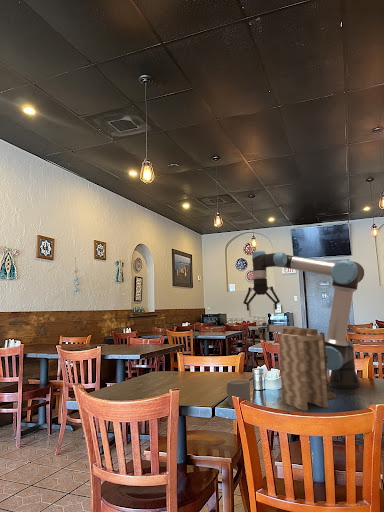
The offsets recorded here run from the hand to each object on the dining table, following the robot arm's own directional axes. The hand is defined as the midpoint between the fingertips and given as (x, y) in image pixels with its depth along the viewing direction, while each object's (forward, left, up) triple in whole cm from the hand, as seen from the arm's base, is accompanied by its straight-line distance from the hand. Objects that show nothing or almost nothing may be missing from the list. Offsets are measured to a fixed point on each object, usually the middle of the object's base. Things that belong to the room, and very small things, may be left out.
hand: (262, 316), depth 219 cm
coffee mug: (+12, +43, -37) cm, 58 cm away
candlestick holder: (-28, +29, -37) cm, 55 cm away
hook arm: (-10, +30, -7) cm, 33 cm away
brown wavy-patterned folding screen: (-17, +43, -37) cm, 59 cm away
